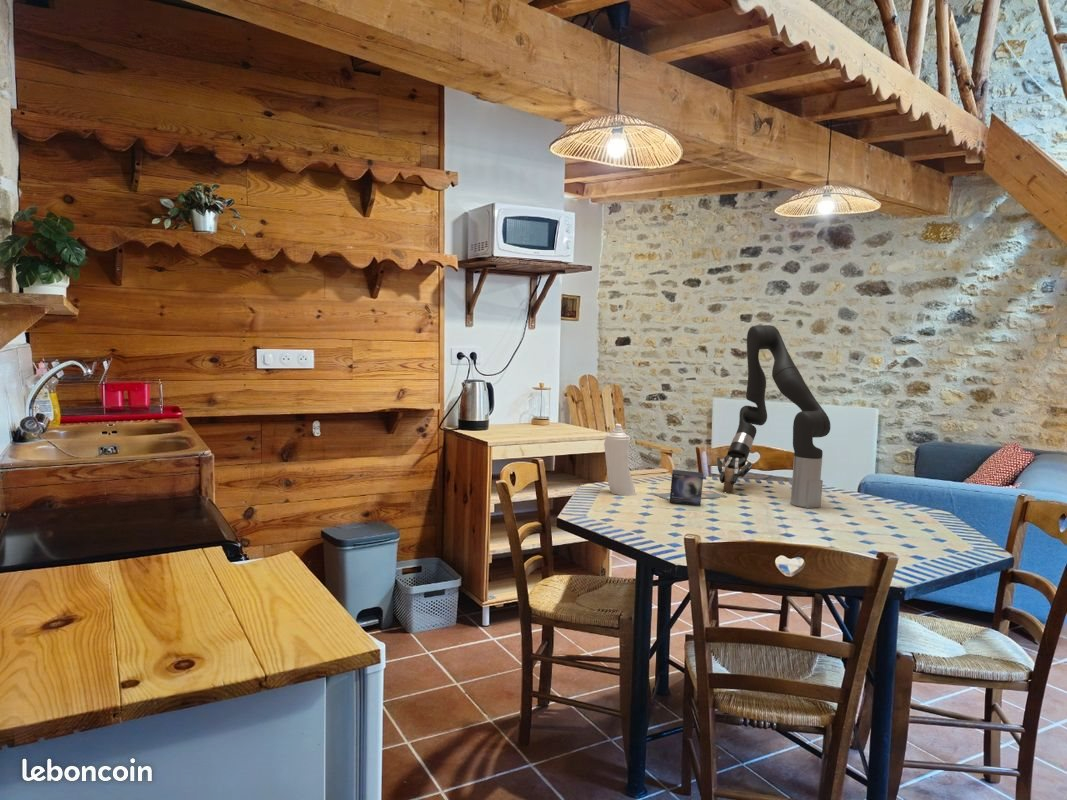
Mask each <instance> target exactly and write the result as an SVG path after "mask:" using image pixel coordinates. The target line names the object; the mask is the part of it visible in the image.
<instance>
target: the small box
mask: <svg viewBox="0 0 1067 800" xmlns="http://www.w3.org/2000/svg"><path fill="white" fill-rule="evenodd" d="M703 481H704V473H703V472H701V471H700V472H699V471H691V470H681V469H672V472H671V483H670V492H669V493H670V501H669V502H670V503H675V504H683V505H690V506H699V507H701V504H702V499H701V495H702V491H703Z"/></svg>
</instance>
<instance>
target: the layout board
mask: <svg viewBox="0 0 1067 800" xmlns="http://www.w3.org/2000/svg"><path fill="white" fill-rule="evenodd" d="M653 496H656V497H658V496H659V498H662V499H663V498H664V500H665V501H668V500H669V501H668V502H670V492H666V493H664V492H663V493H653ZM720 497H724V498H728V496H727V495H724V494H721V493H718V492H716V491H712V490H702V495H701V500H705V499H707V498H708V499H721V498H720Z"/></svg>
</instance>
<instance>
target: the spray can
mask: <svg viewBox="0 0 1067 800" xmlns="http://www.w3.org/2000/svg"><path fill="white" fill-rule="evenodd" d="M604 439H605V440H604V442H603V443H604V444H603V445H604V447H603V448H604V454H605V462H606V463H605V464H606V465H605V466H606V472H607V473H606V474H607V482H608V487H609V489H610V493H611V494H614V495H617V496H618V495H619V496H625V497H627V496H635V495H637V493H636V488H635V485H634V481H633V478H632V475H631V471H630V466H629V458H630V456H629V455H630V454H629V452H630V444H631V443H630V442H631V436H630V435H628V434H626V433H625V431H624V429H623V427H622V424H621V423H615V426H614V429H612V432H610V433H609V434H608V433H607V434H606V435H605V438H604Z"/></svg>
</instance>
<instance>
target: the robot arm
mask: <svg viewBox="0 0 1067 800" xmlns="http://www.w3.org/2000/svg"><path fill="white" fill-rule="evenodd" d="M779 331H780V330H779V329H778V328H777V327H776V326H774V325H770V324H768V325H767V324H766V325H760V324H759V325H753V326H751V327H750V328H749V329H748V331H747V334H746V354H747V356H746V359H747V383H746V385H747V386H746V393H745V394H746V395H745V398H746V399H747V401H749V402H751V403H753V404H755V405H756V406H753V405H744V406H742V407H741V408H740V410H739V416H738V417H739V418H738V419H739V421H738V428H737V431H736V432H735V435H734V436H733V438H732V440H731V443H730V446H729V448H728V450H727V454H726V456H725V457H723V458H720V457H717V459H716V463H717V471H718V473H719V474H720V476H719V477H718V478H719V481H720V483H721V484H724V474H725V468H733V469H734V474H733V476H732V478H731V481H730V482H731V485H733V486H734V484H736V483H737V481H738V478H739V477H741V478H744V477H745V476H746V475H747V474H748V473H749V471H751V469H752V468H753V464H752V462H750V461H747V460H748V457H749V456H750V453H751V450H752V447H753V443H754V440H755V437H756V434H757V427H756V426H763V425H765V424H766V422H767V420H768V413H767V406H766V396H765V395H766V389H767V377H766V375H765V372H764V370H763V368H762V366H761V363H760V358H759V356H760V355H759V354H760V350H768V351H769V352H770V354H771V355H772V356H773V365H772V370H771V371H772V372H771V377H772V379H773V382H774V383H775V385H776V387H777V389H778V391H779V392H780V393H781V394H782V395H783V396H784V397H786V398H787V399H788V401H790V402H792V403H793V404H794V405H796V406H797V407H798V408H799V410H801V411H799V412H797V414H796V415H795V416H794V419H793V424H792V448H793V452H794V453H793V467H792V478H791V490H790V491H791V494H790V495H791V496H790V504H791V505H792V506H795V507H800V508H806V509H812V508H815V509H817V508H822V496H823V480H822V479H821V478H822V477H821V476H822V467H823V465H822V464H823V450H822V449H821V448H819V447H817V446H815V445H814V443H813V442H814V441H813V440H814V439H813V438H823V437H827V436H829V435H828V434H829V433H830V431H831V421H830V418H829V416H828V415H827V413H826V411H825V410H824V409H823V407H822V406H821V405H820V404H819V402H818V400H817V399H816V397H815V396H814V395H813V393H812V392H811V390H810V388H809V387H808V386H807V385H808V384H807V383H806V381H805V380H804V378H803V376H802V375H801V372H800V371H799V369H798V368H797V366H796V365H795V362H794V361H793V359H792V356H791V355H790V353H789V351H788V349H787V347H786V345H785V342H784V340H783V337H782V335H781V334H780V332H779ZM754 425H755V426H754ZM724 463H725V464H724ZM723 465H724V466H723Z"/></svg>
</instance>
